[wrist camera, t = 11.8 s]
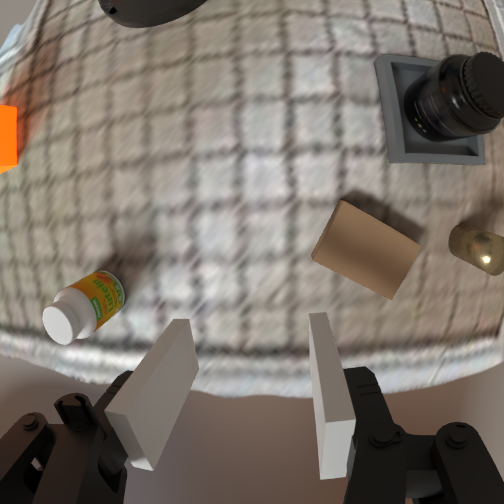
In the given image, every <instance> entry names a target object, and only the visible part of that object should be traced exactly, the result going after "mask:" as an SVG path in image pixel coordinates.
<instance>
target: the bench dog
mask: <svg viewBox="0 0 504 504" xmlns="http://www.w3.org/2000/svg"><path fill="white" fill-rule="evenodd" d="M449 249H450V251H451V253H452V254H453V255H454V256H456V257H458V258H460V259H462V260H464V261H466V262H468V263H470V264H472V265H474V266H476V267H477V268H479V269H481V270H483V271H485V272H487V273H489V274H490V275H493V276H496V275H499V274H501V273H502V272H503V271H504V237H502V236H499V235H496V234H493V233H490V232H487V231H483V230H480V229H477V228H474V227H470V226H467V225H463V224H461V225H458V226H456V227H455V228H454V229H453V230H452V232H451V233H450V236H449Z"/></svg>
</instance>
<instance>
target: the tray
mask: <svg viewBox="0 0 504 504" xmlns="http://www.w3.org/2000/svg"><path fill="white" fill-rule="evenodd" d="M439 62H440V61H435V60H429V59H423V58H416V57H408V56H399V55H389V54H380V56H379V57H378V58H377V60H376V61H375V62H374V65H375V70H376V75H377V80H378V85H379V91H380V96H381V103H382V109H383V116H384V123H385V130H386V138H387V147H388V157H389V163H432V164H459V165H485V156H484V146H483V137H482V135H478V136H473V137H467V138H462V139H457V140H452V141H447V142H432V141H429V140H427V139H425V138H423V137H422V136H420V135H419V134H418V133H417V132H416V131H415V130H414V129H413V128H412V126H411V125H410V123H409V122H408V120H407V117H406V115H405V111H404V104H403V101H404V95H405V92H406V90H407V88H408V87H409V85H410V84H411V83H413V82H414V81H415V80H416V79H417V78H419V77H420V76H421V75H423V74H424V73H425V72H427V71H428V70H429V69H431V68H432V67H433V66H435V65H436V64H437V63H439Z"/></svg>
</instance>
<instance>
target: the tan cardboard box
mask: <svg viewBox="0 0 504 504" xmlns="http://www.w3.org/2000/svg"><path fill="white" fill-rule="evenodd" d="M420 248H421V246H420V245H419V244H417V243H416V242H414V241H412V240H411V239H409V238H408V237H406V236H404V235H403V234H401V233H399V232H398V231H396V230H394V229H393V228H391V227H389V226H388V225H386V224H384V223H382V222H381V221H379V220H377V219H376V218H374V217H372V216H370V215H369V214H367V213H365V212H363V211H362V210H360V209H358V208H356V207H354V206H353V205H351V204H349V203H347V202H345V201H343V200H340V199H339V201H338V203H337V205H336V207H335V209H334V211H333V213H332V215H331V217H330V219H329V221H328V223H327V225H326V227H325V229H324V231H323V233H322V235H321V237H320V239H319V241H318V243H317V244H316V246H315V248H314V250H313V252H312V254H311V256H312V259H313V261H315V262H317V263H319V264H321V265H323V266H325V267H327V268H329V269H331V270H333V271H335V272H337V273H339V274H341V275H343V276H345V277H347V278H349V279H351V280H353V281H355V282H357V283H359V284H361V285H363V286H365V287H367V288H369V289H371V290H373V291H375V292H377V293H378V294H380V295H382V296H384V297H386V298H388V299H390V300H392V299H393V297H394V295H395V294H396V292H397V290H398V289H399V287H400V285H401V283H402V282H403V280H404V278H405V276H406V274H407V273H408V271H409V269H410V267H411V265H412V264H413V262H414V260H415V258H416V256H417V254H418V252H419V250H420Z"/></svg>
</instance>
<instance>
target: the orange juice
mask: <svg viewBox="0 0 504 504" xmlns="http://www.w3.org/2000/svg"><path fill="white" fill-rule="evenodd" d="M16 115H17V107H11V106H5V105H0V174H1V173H3V172H5V171H7V170H9V169H11V168H13V167H15V166H17V153H16Z"/></svg>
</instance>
